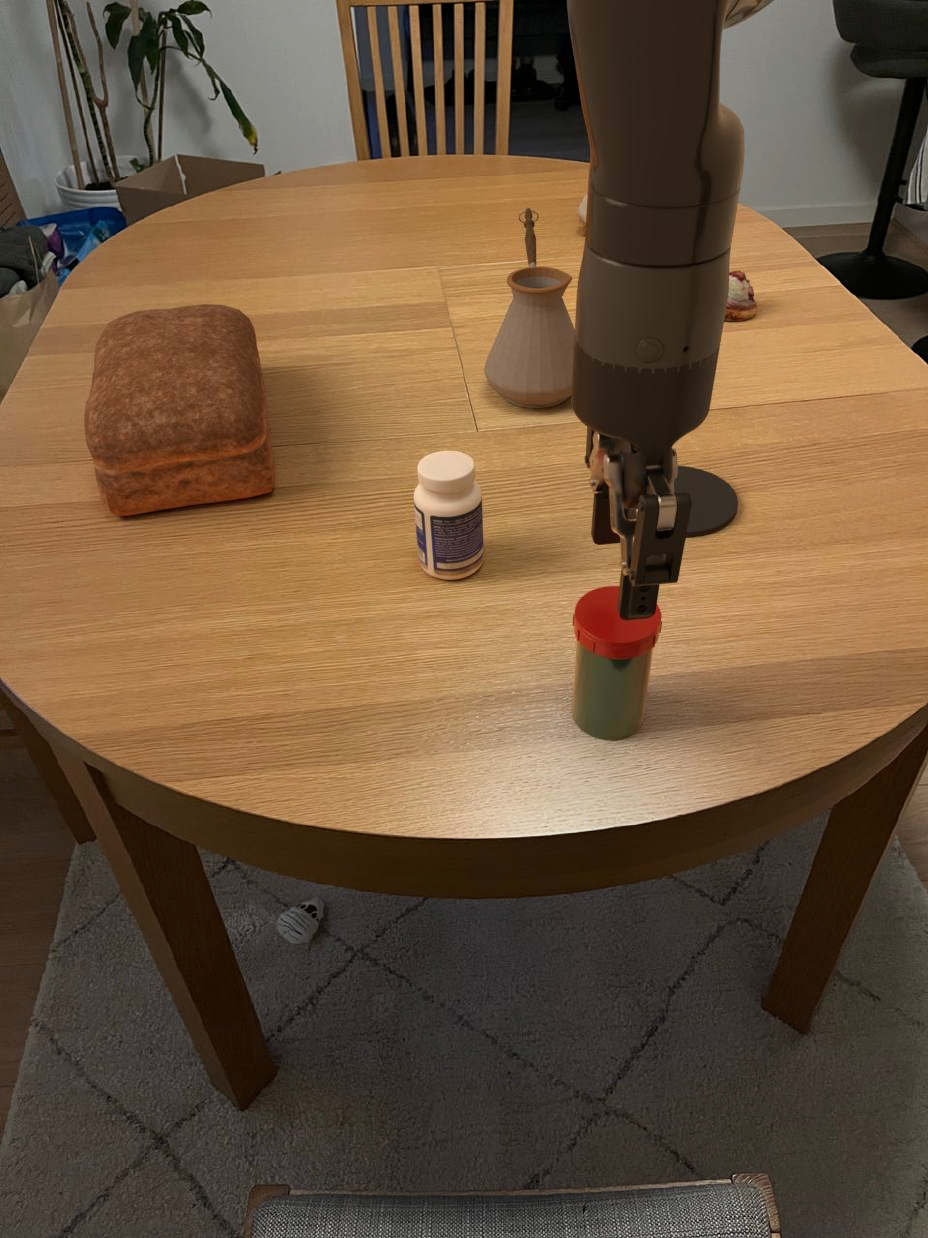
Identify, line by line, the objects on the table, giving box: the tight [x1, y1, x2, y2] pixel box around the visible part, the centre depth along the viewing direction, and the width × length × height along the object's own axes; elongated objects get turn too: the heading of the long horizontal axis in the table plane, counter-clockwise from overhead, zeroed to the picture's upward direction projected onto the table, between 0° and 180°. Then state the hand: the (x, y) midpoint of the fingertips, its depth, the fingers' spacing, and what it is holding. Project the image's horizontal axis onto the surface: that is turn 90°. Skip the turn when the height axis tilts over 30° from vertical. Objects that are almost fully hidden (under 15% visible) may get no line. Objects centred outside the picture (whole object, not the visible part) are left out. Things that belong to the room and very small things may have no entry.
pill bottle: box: [413, 450, 485, 581], centre depth 78 cm, size 6×6×10 cm
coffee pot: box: [483, 207, 575, 409], centre depth 103 cm, size 21×12×15 cm, turn 1°
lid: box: [572, 585, 663, 659], centre depth 62 cm, size 6×6×2 cm
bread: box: [83, 303, 275, 518], centre depth 95 cm, size 17×29×11 cm, turn 12°
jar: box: [571, 638, 655, 741], centre depth 65 cm, size 5×5×9 cm
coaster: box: [628, 465, 739, 538], centre depth 87 cm, size 11×11×1 cm
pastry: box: [724, 269, 758, 322], centre depth 117 cm, size 8×8×5 cm
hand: (621, 575), depth 59 cm, fingers open, 7 cm apart
